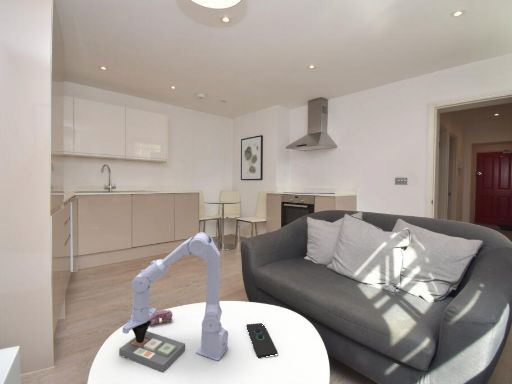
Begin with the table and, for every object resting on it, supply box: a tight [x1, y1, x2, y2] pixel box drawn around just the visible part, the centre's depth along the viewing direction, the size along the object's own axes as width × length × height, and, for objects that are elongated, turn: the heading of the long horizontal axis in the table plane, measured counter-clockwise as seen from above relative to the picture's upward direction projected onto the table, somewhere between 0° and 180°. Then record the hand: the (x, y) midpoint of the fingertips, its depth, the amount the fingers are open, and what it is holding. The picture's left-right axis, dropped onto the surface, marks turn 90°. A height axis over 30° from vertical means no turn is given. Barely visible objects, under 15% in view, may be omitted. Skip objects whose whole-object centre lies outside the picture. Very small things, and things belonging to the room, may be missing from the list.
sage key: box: [157, 343, 176, 357], centre depth 93 cm, size 4×4×2 cm
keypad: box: [118, 330, 186, 373], centre depth 95 cm, size 19×12×3 cm, turn 70°
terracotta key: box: [131, 338, 149, 347], centre depth 97 cm, size 4×4×2 cm
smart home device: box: [246, 322, 278, 359], centre depth 106 cm, size 8×2×20 cm
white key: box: [144, 338, 162, 352], centre depth 95 cm, size 4×4×2 cm
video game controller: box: [149, 309, 173, 325], centre depth 114 cm, size 10×5×7 cm
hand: (139, 341), depth 97 cm, fingers closed, pressing on terracotta key
